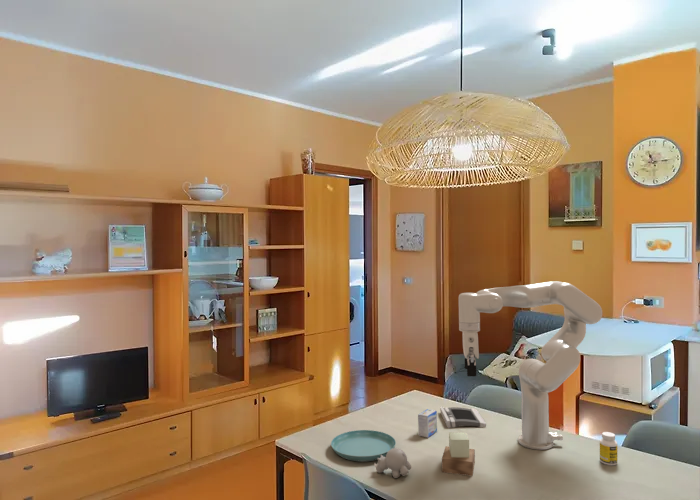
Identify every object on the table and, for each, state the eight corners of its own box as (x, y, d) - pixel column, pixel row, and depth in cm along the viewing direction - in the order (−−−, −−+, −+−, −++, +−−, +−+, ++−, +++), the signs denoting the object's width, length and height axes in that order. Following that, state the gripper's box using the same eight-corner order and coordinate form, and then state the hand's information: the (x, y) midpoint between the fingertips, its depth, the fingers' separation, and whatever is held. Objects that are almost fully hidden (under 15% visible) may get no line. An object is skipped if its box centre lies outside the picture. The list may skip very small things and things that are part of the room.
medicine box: (428, 438, 194) (427, 416, 194) (418, 435, 197) (417, 414, 196) (437, 431, 200) (437, 410, 200) (427, 429, 203) (427, 408, 203)
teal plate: (409, 448, 186) (408, 439, 186) (366, 472, 168) (366, 462, 168) (361, 432, 202) (360, 424, 202) (317, 452, 185) (317, 443, 184)
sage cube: (466, 449, 172) (466, 432, 172) (469, 457, 166) (469, 439, 166) (449, 449, 173) (448, 432, 173) (451, 457, 167) (450, 439, 167)
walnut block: (474, 463, 173) (474, 449, 172) (472, 476, 163) (472, 461, 163) (445, 460, 176) (445, 446, 176) (442, 473, 166) (441, 458, 166)
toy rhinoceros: (384, 474, 171) (375, 450, 172) (414, 467, 166) (405, 442, 168) (376, 484, 164) (366, 458, 166) (408, 476, 160) (398, 450, 161)
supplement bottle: (610, 467, 166) (610, 438, 166) (596, 461, 171) (595, 432, 171) (621, 463, 169) (620, 435, 169) (606, 457, 174) (606, 429, 173)
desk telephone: (440, 406, 221) (476, 403, 221) (441, 417, 221) (477, 413, 221) (447, 421, 204) (486, 417, 203) (448, 432, 204) (487, 428, 204)
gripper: (482, 330, 174) (483, 379, 174) (477, 322, 191) (478, 366, 192) (461, 330, 175) (462, 379, 175) (457, 322, 192) (458, 366, 193)
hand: (470, 372), depth 184 cm, fingers open, 9 cm apart
